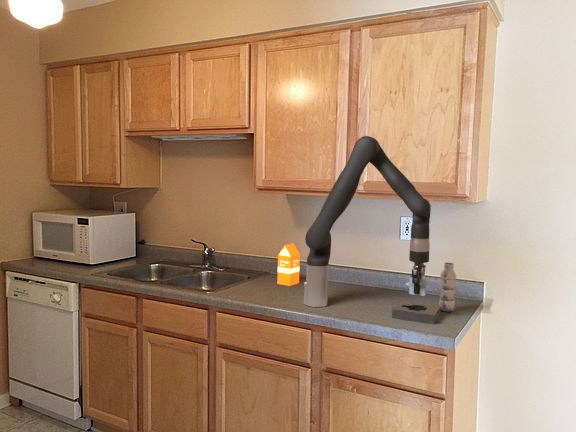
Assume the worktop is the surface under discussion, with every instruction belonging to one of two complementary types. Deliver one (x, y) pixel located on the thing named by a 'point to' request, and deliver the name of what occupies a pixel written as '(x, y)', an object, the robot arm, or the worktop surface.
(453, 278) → the plastic bottle
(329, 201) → the robot arm
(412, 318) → the block with stepped hole
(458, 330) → the worktop surface
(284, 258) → the orange juice
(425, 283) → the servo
